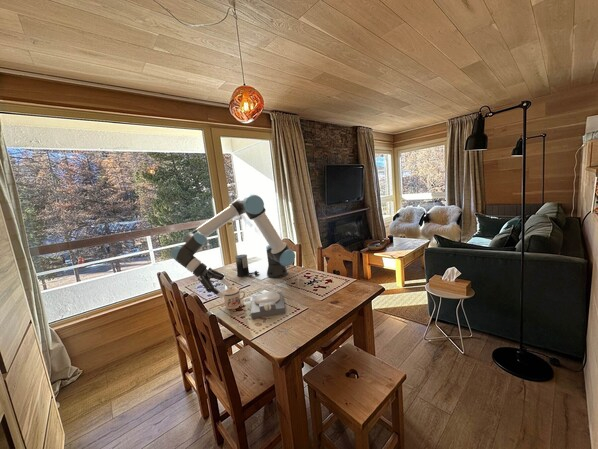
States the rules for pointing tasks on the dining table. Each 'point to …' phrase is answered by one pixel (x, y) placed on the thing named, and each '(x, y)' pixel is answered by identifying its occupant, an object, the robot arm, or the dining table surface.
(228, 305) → the teacup with lid
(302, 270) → the dining table surface
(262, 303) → the kitchen scale
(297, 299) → the dining table surface
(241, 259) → the milk frother
